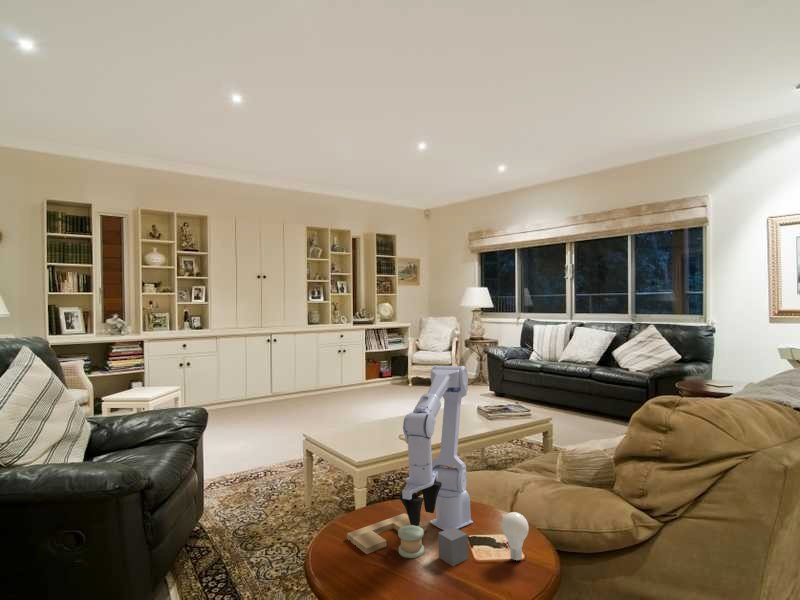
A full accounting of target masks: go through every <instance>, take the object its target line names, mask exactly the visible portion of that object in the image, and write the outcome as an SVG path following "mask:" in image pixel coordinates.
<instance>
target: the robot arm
mask: <svg viewBox="0 0 800 600" xmlns="http://www.w3.org/2000/svg"><path fill="white" fill-rule="evenodd" d="M429 376H430V383H431V384H430V386H429V389H428V392H426V393H424V394H422V395H421V397H420V398H419V400H418V401H417V404H416V405H415V407H414V409H413V411H410V412H409V413H407V414H405V416H404V419H403V422H402V423H403V424H402V430H403V435H404V437H405V439H404V440H405V443H406V444H407V451H408V452H407V454H408V455H407V456H408V457H407V458H408V476H407V477H406V478H405V482H406V485H405V486H404V488H403V489H402V491H401V494H400V495H399V498H400V502H401V503H402V504H403V506H404V509H405V511H406V514H407V515H408V517H409V521H410V524H411V525H414V526H419V524H420V522H421V511H422V506H423V505H424V510H425V511H424V512H426V513H430V514H434V513H436V514H435V516H436V518H434V519H432V520H431V519H430V521H429V523H430V524H432V526H435V527H437V528H439V529H440V530H441V531H444V530H446V529H449V528H451V527H455V528H457V529H459V530H460V529H461V528H463V527H465V526H469V525H471V524H473V523H474V521H473V520H472V517H471V516H472V515H471V499H470V495H469V493H468V491H467V490H466V489H467V485H468V476H467V465H466V464H465V462H464V461H463V460H461V459H460V458H459V456H458V451H459V449H458V448H459V447H458V446H459V435H460V434H459V433H460V417H461V405H462V398H464V397H466V396H467V395H468V394H467V393H468V386H469V385H468V384H469V374H468V370H467V367H466V366H464V365H461V366H459V365H455V366H454V365H437V364H436V365H433V367H431V370H430V375H429ZM442 398H443V401H444V403H443V415H442V424H441V425H442V426H441V429H442V430H441V439H440V440H441V442H440V453H439V455H438V456H437V457H436V458H434V459H433V456H432V455H433V454H432V437H433V435H434V432H435V426H436V423H437V421H436V418H437V415H438V414H439V411H440V410H441V407H442V403H441V399H442ZM443 466H444V467H443ZM452 467H454V468H452ZM420 491H421V493H422V497H421V496H419V495H418V494H417V493H418V492H420Z"/></svg>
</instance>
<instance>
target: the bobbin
mask: <svg viewBox="0 0 800 600" xmlns="http://www.w3.org/2000/svg"><path fill="white" fill-rule="evenodd" d="M424 534H425V532H424V531H423V529H422V528H421V527H419V526H414V525H408V526H404V527H401V528H400V529H399V530H398V531H397V535H398V538H399V539H400V545H399V546H398V554H399V556H401V557H403V558H405V559H416V558H417V559H418V558H420V557H422V555H424V554H425V545H423V543H422V538H423V537H424Z"/></svg>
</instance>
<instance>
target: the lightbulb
mask: <svg viewBox="0 0 800 600" xmlns="http://www.w3.org/2000/svg"><path fill="white" fill-rule="evenodd" d="M500 523H501V524H500V525H501V526H500V527H501V530H502V531H501V532H502V533H503V536H504V537H505V539H506V541H507V543H508V546H509V548H510V549H509V552H510V553H509V554H510V555H509V556H510V559H512V560H513V561H515V560H516V562H518V561H520V560H522V559H523V557H522V556H523V550H522V549H523V544H524V541H525V540H526V538H527V537H528V534H529V529H530V526H529V522H528V520H527V519H526V517H525V515H523V514H521V513H520V512H516V511H512V512H511V511H510V512H508V513H506V514H505V515H504V517H503V518H502V520H501V522H500Z"/></svg>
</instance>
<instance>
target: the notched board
mask: <svg viewBox="0 0 800 600" xmlns="http://www.w3.org/2000/svg"><path fill="white" fill-rule="evenodd" d="M408 525H411V524H410V521H409V517H408V514H407V513H405V512H404V513H401V514H398V515H395V516H392V517H390V518H386V519H384V520H380V521H378V522H375V523H373V524H369V525H367V526H364V527H361V528H358V529H355V530H351V531H350V532H349V531H348V532H347V533H346V539H347V540H348V541H349V540H350V541H351V542H350V541H349V542H350V543H352V544H353V545H354V546H355V545H356V547H357V548H358V549H360V550H361V552H363V553H365V555H368V554H372V553H374V552H376V551H378V550H382V549H383V548H387V539H385V538H383V537H382V536H380V535H379V534H383V533H385V532H387V531H390V530H393V529H394V530H395V531H397V532H398V530H399V529H400V528H401V527H404V526H408ZM419 527H421V528H422V529H423V531H424V533H425V532H426V531H427V525H426V524H424V523H423V522H421V521H420V524H419Z"/></svg>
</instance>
